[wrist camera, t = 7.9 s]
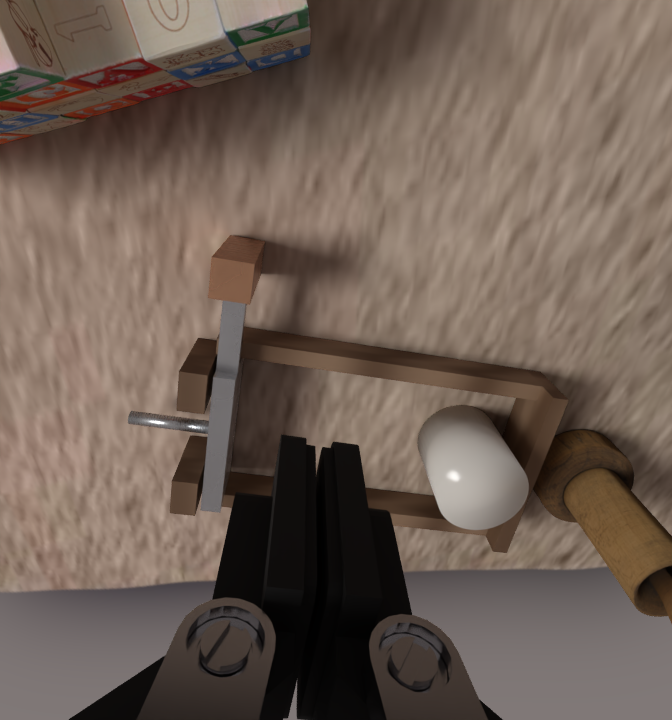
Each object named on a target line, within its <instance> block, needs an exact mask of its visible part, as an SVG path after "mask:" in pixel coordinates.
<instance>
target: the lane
mask: <svg viewBox="0 0 672 720" xmlns="http://www.w3.org/2000/svg"><path fill="white" fill-rule="evenodd" d="M219 335H220V334H219ZM218 345H219V336H218V338H217V341H214V340H207V339H201V338H198V339H197V341H196V343H195V344H194V346H193V348H192V350H191V352H190V353H189V355H188V357H187V359H186V360H185V362H184V364H183V366H182V367H181V369H180V371H179V381H178V397H177V411H185V412H192V413H200V414H204V413H205V410H206V408H207V405H208V403H209V400H210V397H211V395H212V385H213V377H214V374H215V372H216V366H217V356H218ZM240 358H246V359H253V360H260V361H266V362H273V363H280V364H287V365H294V366H301V367H308V368H315V369H322V370H329V371H335V372H342V373H349V374H356V375H363V376H370V377H377V378H384V379H391V380H398V381H404V382H411V383H418V384H425V385H432V386H439V387H446V388H453V389H460V390H467V391H473V392H480V393H487V394H494V395H501V396H508V397H515V398H516V400H515V403H514V406H513V409H512V411H511V414H510V417H509V420H508V422H507V425H506V428H505V431H504V434H503V436H502V438H503V439H504V441H505V443H506V444H507V446H508V447H509V449H510V450H511V452H512V453H513V455H514V456H515V458H516V459H517V461H518V462H519V464H520V465H521V467H522V469H523V470H524V472H525V474H526V475H527V478H528V483H529V491H528V496H527V499H526V501H525V503H524V505H523V506H522V508H521V509H520V510H519V511H518V513H517V514H515V515H514V516H513V517H512V518H511V519H509V520H508V521H506V522H505V523H503V524H501V525H498V526H496V527H493V528H489V529H483V530H469V529H464V528H460V527H458V526H455V525H453V524H452V523H450V522H449V521H448V520H447V519H446V518H445V517H444V516H443V515H442V513H441V511H440V509H439V507H438V504H437V501H436V498H435V496H428V495H420V494H412V493H403V492H395V491H386V490H378V489H369V488H365V489H366V495H367V501H368V508H373V509H382V510H388V511H389V512H390V515H391V518H392V523H393V526H403V527H412V528H421V529H430V530H439V531H448V532H457V533H466V534H475V535H484V536H486V537H487V540H488V542H489V544H490V546H491V548H492V551H494V552H503V553H507V551H508V548H509V546H510V543H511V541H512V538H513V536H514V534H515V531H516V529H517V526H518V524H519V521H520V519H521V516H522V514H523V511H524V509H525V507H526V504H527V502H528V499H529V497H530V494H531V492H532V489H533V487H534V485H535V482H536V480H537V477H538V475H539V472H540V470H541V467H542V465H543V462H544V460H545V458H546V455H547V453H548V450H549V448H550V445H551V443H552V440H553V438H554V436H555V433H556V431H557V428H558V426H559V423H560V421H561V418H562V416H563V413H564V411H565V409H566V406H567V404H568V401H569V400H568V399H567V398H566V397H565V396H564V395H563V394H562V393H561V392H560V391H559V390H558V389H557V388H556V387H555V386H554V385H553V384H552V383H551V382H550V381H549V380H548V379H547V378H546V377H545V376H544V375H543V374H542V373H541V372H537V371H530V370H524V369H517V368H511V367H504V366H497V365H491V364H484V363H478V362H471V361H465V360H458V359H451V358H445V357H438V356H432V355H425V354H419V353H412V352H405V351H399V350H392V349H386V348H379V347H373V346H366V345H359V344H353V343H346V342H340V341H333V340H327V339H320V338H313V337H307V336H300V335H294V334H287V333H281V332H274V331H267V330H261V329H254V328H248V327H244V332H243V340H242V349H241V357H240ZM206 448H207V438H206V437H198V436H190V438H189V440H188V443H187V445H186V448H185V450H184V453H183V455H182V457H181V460H180V462H179V465H178V467H177V470H176V472H175V475H174V477H173V480H172V488H171V503H170V513H174V514H183V515H193V516H195V514H196V510H197V507H198V504H199V501H200V497H201V494H202V490H203V480H204V469H205V459H206ZM273 480H274V477H268V476H260V475H251V474H243V473H234V472H230V474H229V478H228V482H227V486H226V491H225V495H224V499H223V503H222V507H230V508H232V506H233V502H234V497H235V493H236V492H240V493H248V494H256V495H265V496H271V492H272V486H273Z"/></svg>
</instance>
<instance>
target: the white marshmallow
mask: <svg viewBox="0 0 672 720" xmlns="http://www.w3.org/2000/svg"><path fill="white" fill-rule="evenodd" d="M417 444H418V450H419V453H420V456H421V459H422V462H423V464H424V467H425V470H426V473H427V476H428V479H429V481H430V484H431V487H432V490H433V493H434V495H435V498H436V501H437V504H438V507H439V509H440V511H441V513H442V515H443V516H444V517H445V518H446V519H447V520H448V521H449V522H450V523H452V524H453V525H455V526H458V527H460V528H464V529H469V530H483V529H489V528H493V527H496V526H498V525H501V524H503V523H505V522H506V521H508V520H509V519H511V518H512V517H513V516H514V515H515V514H517V513H518V511H519V510H520V509H521V508H522V506H523V505H524V503H525V501H526V499H527V496H528V491H529V483H528V478H527V475H526V474H525V472H524V470H523V469H522V467H521V465H520V464H519V462H518V461H517V459H516V458H515V456H514V455H513V453H512V452H511V450H510V449H509V447H508V446H507V444H506V443H505V441H504V439H503V438H502V436H501V435H500V433H499V432H498V430H497V429H496V427H495V426H494V424H493V423H492V421H491V420H490V418H489V417H488V416H487V415H486V414H485V413H484V412H482V411H481V410H479V409H477V408H475V407H472V406H466V405H456V406H450V407H446V408H444V409H441V410H439V411H438V412H436V413H434V414H433V415H432V416H431V417H429V418H428V419H427V421H426V422H425V423H424V424H423V426H422V428H421V430H420V432H419V435H418V442H417Z"/></svg>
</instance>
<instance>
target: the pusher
mask: <svg viewBox="0 0 672 720" xmlns="http://www.w3.org/2000/svg"><path fill="white" fill-rule="evenodd" d="M264 245H265V241H261V240H255V239H249V238H244V237H238V236H232V235H230V236H229V237H228V238H227V240H226V241H225V242H224V243H223V244H222V246H221V247H220V248H219V249H218V250H217V251H216V253H215V254H214V255H213V256H212V259H211V271H210V283H209V295H208V298H211V299H218V300H223V304H222V314H221V325H220V335H219V345H218V356H217V366H216V372H215V374H214V377H213V385H212V396H211V406H210V417H209V421H206V420H198V419H190V418H183V417H175V416H167V415H159V414H152V413H144V412H136V411H131V412H130V414H129V418H128V423H129V424H133V425H141V426H149V427H157V428H165V429H173V430H181V431H189V432H197V433H204V434H208V438H207V448H206V459H205V469H204V480H203V490H202V501H201V510H202V511H211V512H220V511H221V507H222V503H223V499H224V495H225V491H226V486H227V482H228V478H229V474H230V470H231V461H232V453H233V445H234V436H235V428H236V419H237V411H238V403H239V394H240V386H241V378H242V369H243V361H244V358H240V357H241V349H242V340H243V332H244V323H245V314H246V306H247V304H250V303H251V300H252V297H253V295H254V292H255V289H256V286H257V284H258V281H259V278H260V276H261V269H262V261H263V253H264Z"/></svg>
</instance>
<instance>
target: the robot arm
mask: <svg viewBox="0 0 672 720" xmlns="http://www.w3.org/2000/svg"><path fill="white" fill-rule="evenodd" d="M296 681H297V719H303V720H502V719H501V718H500V717H499V716H498V715H497V714H496V713H494V712H493V711H492V710H491V709H490V708H489V707H487V706H486V705H485V704H484V703H483V702H482V701H481V700H479V698H478V696H477V694H476V692H475V689H474V687H473V685H472V682H471V680H470V678H469V675H468V673H467V671H466V669H465V666H464V664H463V662H462V660H461V657H460V655H459V653H458V651H457V649H456V648H455V646H454V644H453V643H452V641H451V639H450V638H449V637H448V636H447V635H446V634H445V633H444V632H443V631H442V630H441V629H440V628H438V627H437V626H435V625H434V624H432V623H431V622H429V621H428V620H425V619H422V618H420V617H417V616H414V615H412V612H411V608H410V602H409V598H408V593H407V588H406V584H405V579H404V575H403V570H402V565H401V560H400V556H399V551H398V546H397V542H396V537H395V532H394V528H393V523H392V518H391V515H390V512H389V511H388V510H382V509H373V508H368V501H367V495H366V489H365V482H364V476H363V470H362V463H361V457H360V451H359V446H358V445H354V444H347V443H339V442H333V443H332V445H331V448H326V447H323V448H322V450H321V455H320V459H319V464H318V469H317V474H316V454H315V446H311V445H306V438H302V437H295V436H287V435H281V439H280V444H279V450H278V456H277V462H276V468H275V474H274V480H273V486H272V492H271V496H265V495H256V494H248V493H240V492H236V493H235V497H234V502H233V506H232V511H231V515H230V520H229V525H228V529H227V534H226V539H225V543H224V548H223V552H222V557H221V562H220V566H219V571H218V576H217V580H216V585H215V589H214V594H213V599H212V600H210V601H208V602H206V603H203V604H201V605H199V606H197V607H196V608H195V609H194V610H192V611H191V612H190V613H189V614H188V615H186V617H185V618H184V620H183V621H182V623H181V624H180V626H179V627H178V629H177V631H176V634H175V636H174V638H173V640H172V642H171V645H170V647H169V649H168V651H167V654H166V655H165V656H164V657H162V658H161V659H159V660H158V661H156V662H155V663H153V664H152V665H150V666H149V667H147V668H146V669H144V670H143V671H141V672H140V673H138V674H137V675H135V676H134V677H132V678H131V679H129V680H128V681H126V682H125V683H123V684H122V685H120V686H118V687H117V688H115V689H114V690H113V691H111V692H109V693H108V694H106V695H105V696H103V697H102V698H100V699H99V700H97V701H96V702H94V703H93V704H91V705H90V706H88V707H87V708H85V709H84V710H82V711H81V712H79V713H78V714H76V715H75V716H73V717H72V718H70V719H69V720H283V718H288V716H289V712H290V707H291V703H292V698H293V694H294V690H295V686H296Z"/></svg>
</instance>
